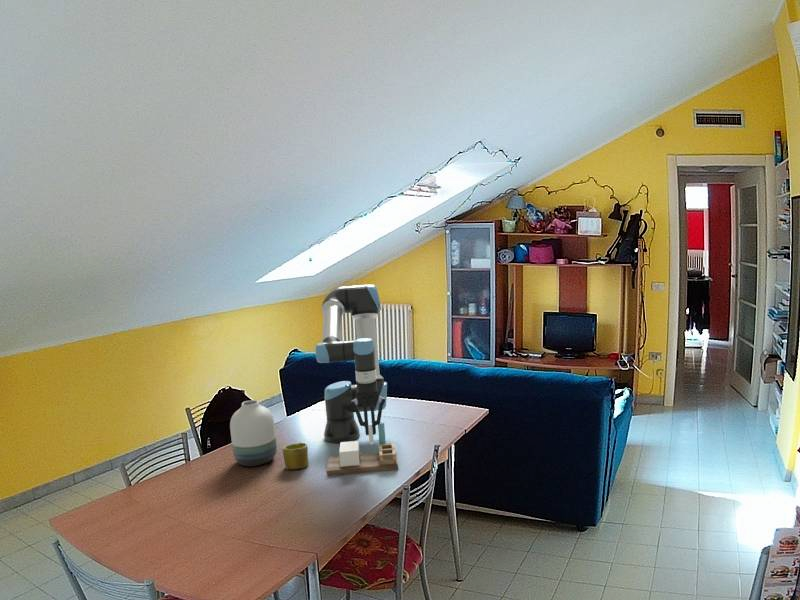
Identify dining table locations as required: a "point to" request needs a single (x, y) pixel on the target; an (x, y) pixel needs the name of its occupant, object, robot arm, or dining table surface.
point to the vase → (253, 434)
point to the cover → (349, 453)
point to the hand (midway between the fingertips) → (371, 443)
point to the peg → (381, 433)
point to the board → (367, 462)
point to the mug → (295, 456)
